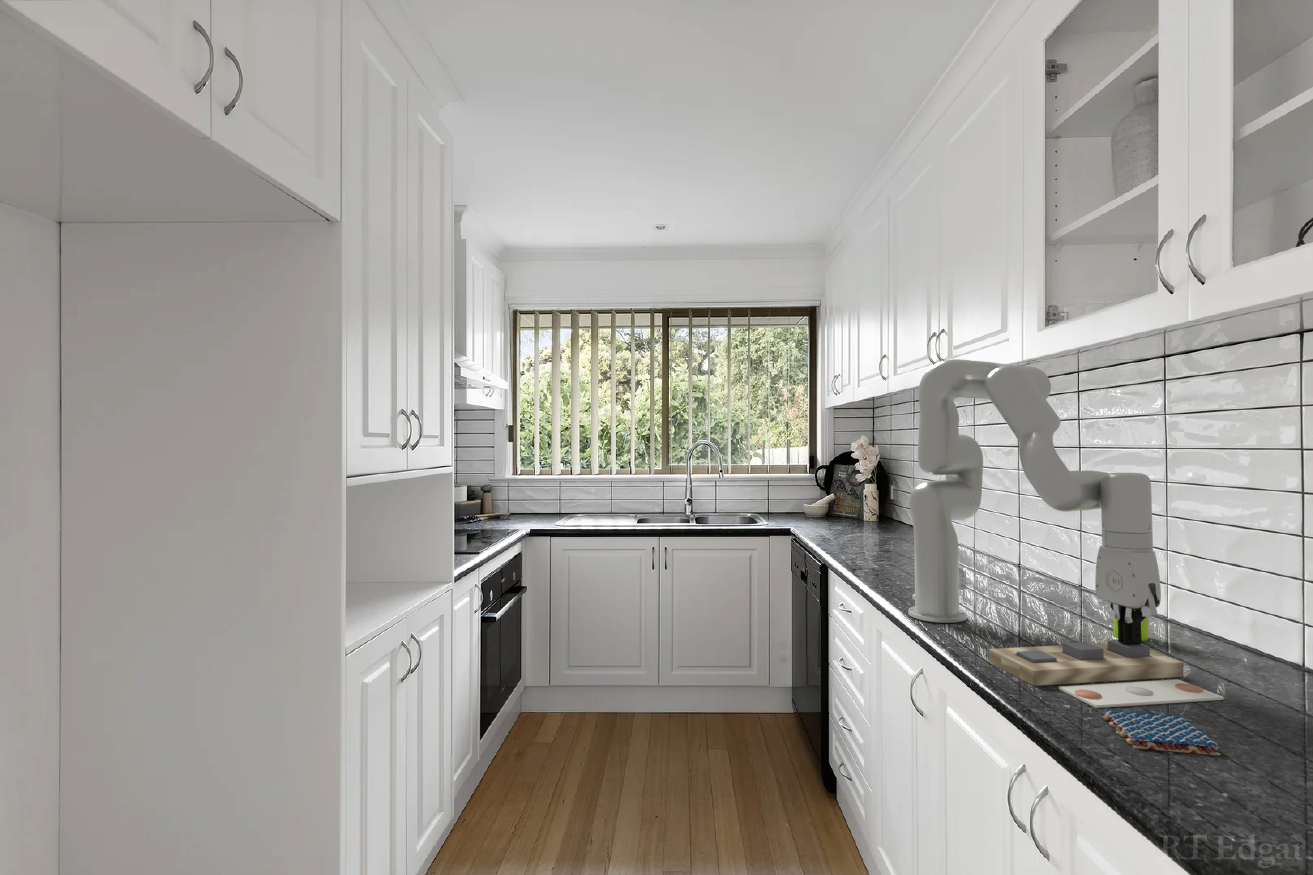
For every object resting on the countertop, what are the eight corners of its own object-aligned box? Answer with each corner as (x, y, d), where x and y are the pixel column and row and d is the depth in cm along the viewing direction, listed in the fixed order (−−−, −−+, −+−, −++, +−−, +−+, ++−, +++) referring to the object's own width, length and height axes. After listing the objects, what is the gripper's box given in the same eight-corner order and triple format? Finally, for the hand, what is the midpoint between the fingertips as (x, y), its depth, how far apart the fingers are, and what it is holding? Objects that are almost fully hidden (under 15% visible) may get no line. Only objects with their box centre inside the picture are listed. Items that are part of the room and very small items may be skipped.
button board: (1033, 685, 113) (1033, 670, 113) (989, 662, 125) (989, 649, 125) (1183, 676, 116) (1183, 662, 116) (1126, 654, 128) (1126, 641, 128)
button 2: (1080, 664, 118) (1080, 650, 118) (1062, 656, 122) (1062, 642, 122) (1103, 663, 118) (1103, 648, 118) (1084, 655, 123) (1084, 641, 123)
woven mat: (1132, 752, 89) (1132, 737, 89) (1100, 720, 100) (1100, 706, 100) (1224, 761, 87) (1224, 745, 87) (1182, 727, 97) (1182, 712, 97)
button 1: (1033, 673, 117) (1033, 659, 117) (1016, 665, 121) (1016, 651, 121) (1056, 672, 117) (1056, 658, 117) (1039, 664, 122) (1039, 650, 122)
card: (1096, 707, 103) (1095, 703, 103) (1058, 688, 111) (1058, 685, 111) (1223, 699, 106) (1223, 695, 106) (1178, 681, 114) (1178, 678, 114)
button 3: (1127, 661, 119) (1127, 647, 119) (1107, 654, 123) (1107, 640, 123) (1149, 660, 120) (1149, 646, 120) (1129, 652, 124) (1129, 639, 124)
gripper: (1077, 536, 129) (1079, 633, 128) (1143, 547, 114) (1146, 657, 113) (1112, 535, 129) (1115, 631, 129) (1182, 546, 115) (1186, 654, 114)
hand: (1129, 643), depth 121 cm, fingers closed
